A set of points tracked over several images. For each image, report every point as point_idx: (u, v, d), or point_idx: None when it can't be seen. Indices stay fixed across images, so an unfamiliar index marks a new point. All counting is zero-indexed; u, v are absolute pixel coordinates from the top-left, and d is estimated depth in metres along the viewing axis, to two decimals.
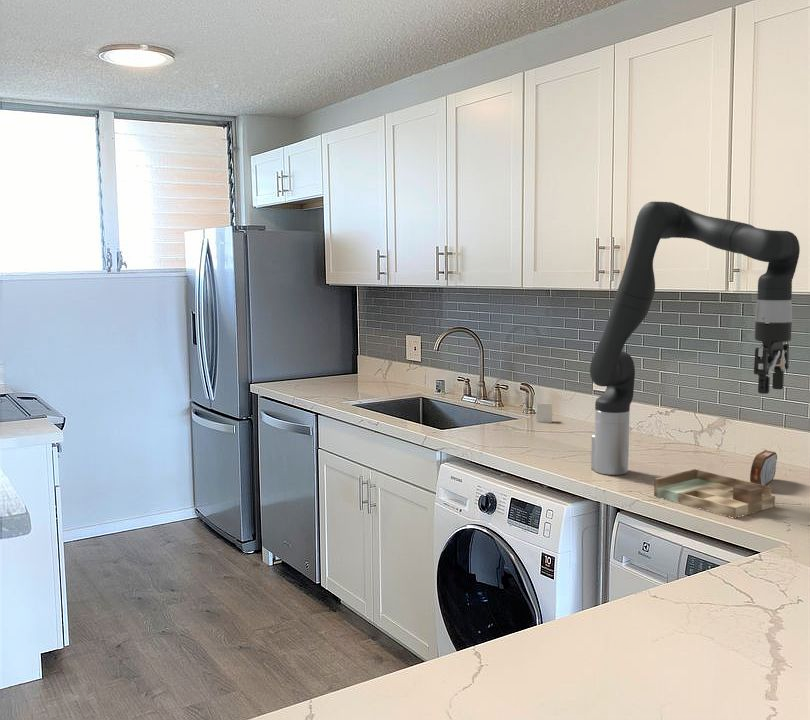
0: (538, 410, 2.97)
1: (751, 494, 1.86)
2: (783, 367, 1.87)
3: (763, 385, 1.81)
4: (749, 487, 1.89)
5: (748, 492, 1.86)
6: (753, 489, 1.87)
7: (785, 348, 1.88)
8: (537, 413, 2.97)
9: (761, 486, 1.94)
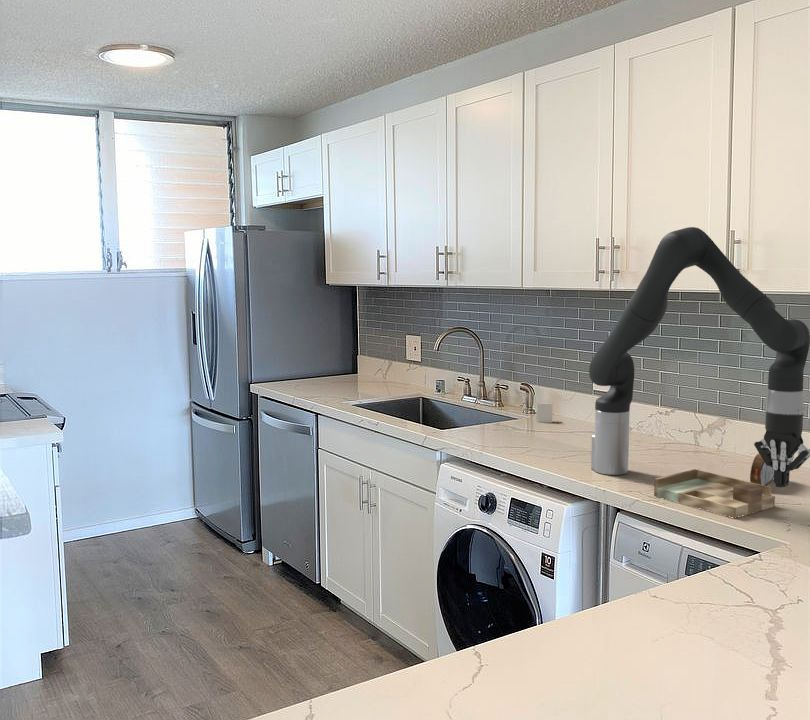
0: (538, 410, 2.97)
1: (751, 494, 1.86)
2: None
3: (788, 479, 1.80)
4: (749, 487, 1.89)
5: (748, 492, 1.86)
6: (753, 489, 1.87)
7: None
8: (537, 413, 2.97)
9: (761, 486, 1.94)
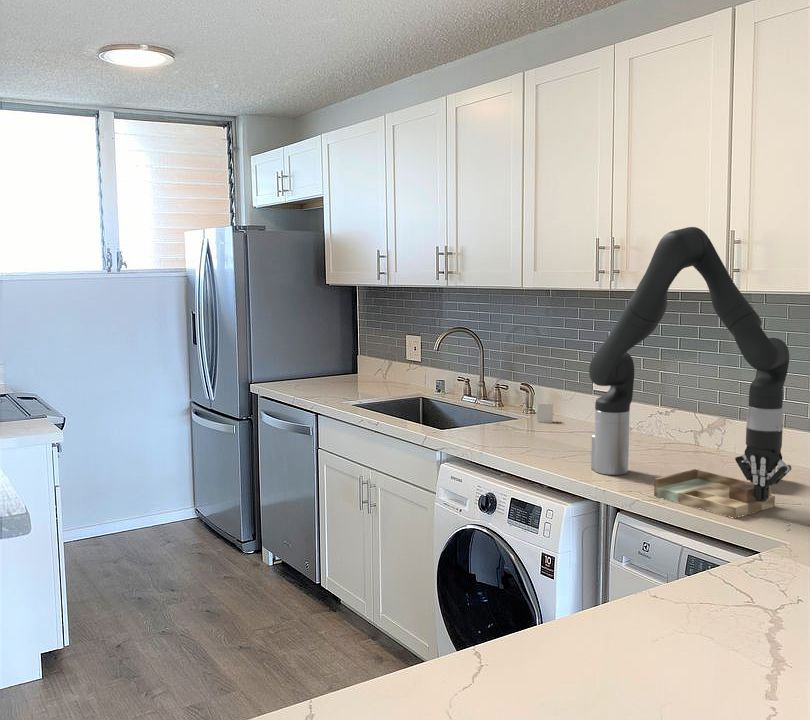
0: (539, 410, 2.96)
1: (747, 493, 1.87)
2: None
3: (767, 493, 1.85)
4: (745, 486, 1.89)
5: (744, 491, 1.87)
6: (749, 488, 1.88)
7: None
8: (538, 413, 2.97)
9: None
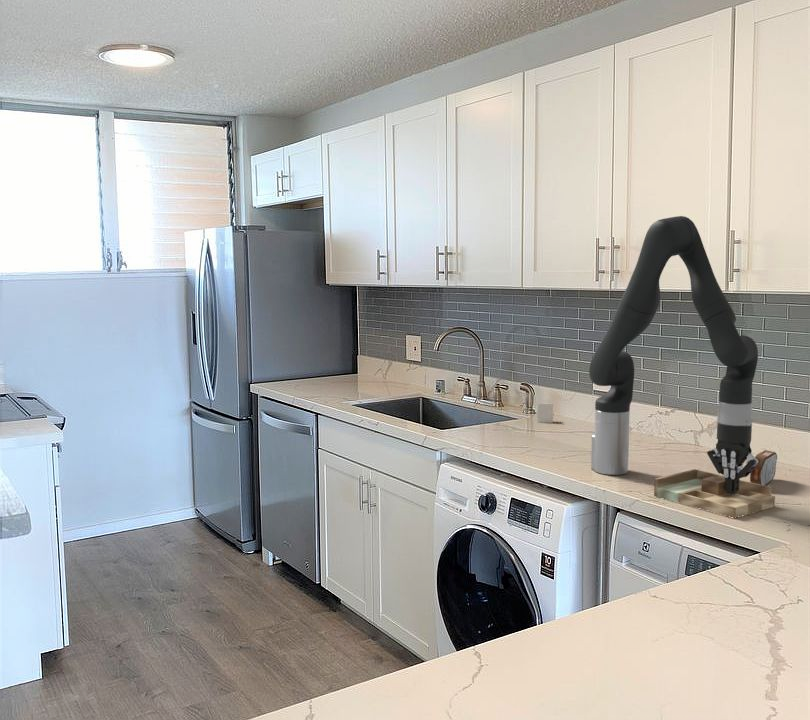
0: (539, 410, 2.96)
1: (719, 486, 1.93)
2: None
3: (737, 486, 1.91)
4: (717, 479, 1.95)
5: (715, 484, 1.93)
6: (720, 481, 1.94)
7: None
8: (538, 413, 2.97)
9: (761, 486, 1.94)
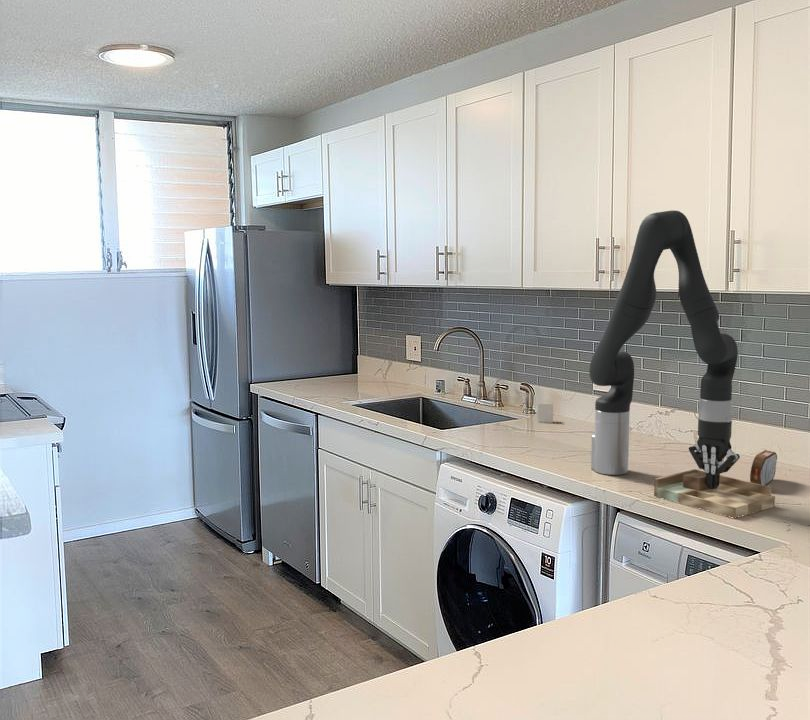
0: (539, 410, 2.96)
1: (700, 481, 1.97)
2: None
3: (718, 481, 1.95)
4: (698, 475, 2.00)
5: (696, 479, 1.97)
6: (701, 476, 1.98)
7: None
8: (538, 413, 2.97)
9: (761, 486, 1.94)
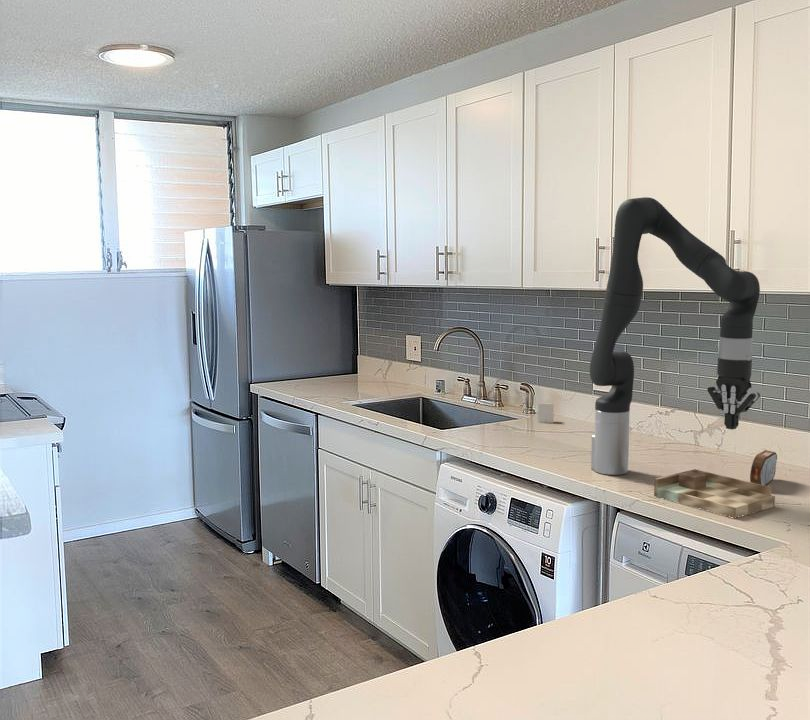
0: (539, 410, 2.96)
1: (695, 480, 1.98)
2: None
3: (737, 421, 1.93)
4: (694, 474, 2.01)
5: (692, 478, 1.98)
6: (697, 476, 1.99)
7: None
8: (538, 413, 2.96)
9: (761, 486, 1.94)
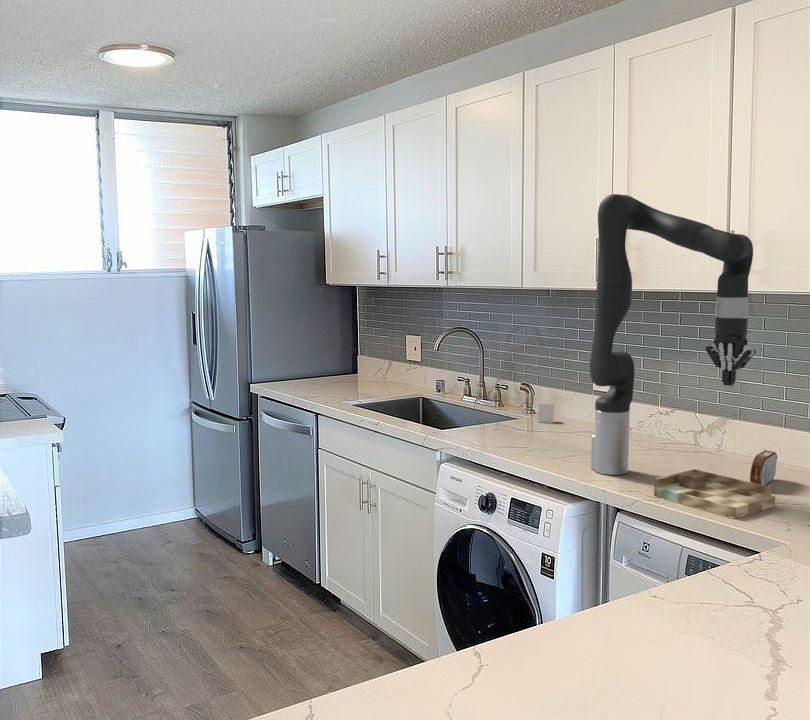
0: (539, 410, 2.96)
1: (695, 480, 1.98)
2: None
3: (734, 378, 2.02)
4: (694, 474, 2.01)
5: (692, 478, 1.98)
6: (697, 476, 1.99)
7: None
8: (538, 413, 2.96)
9: (761, 486, 1.94)
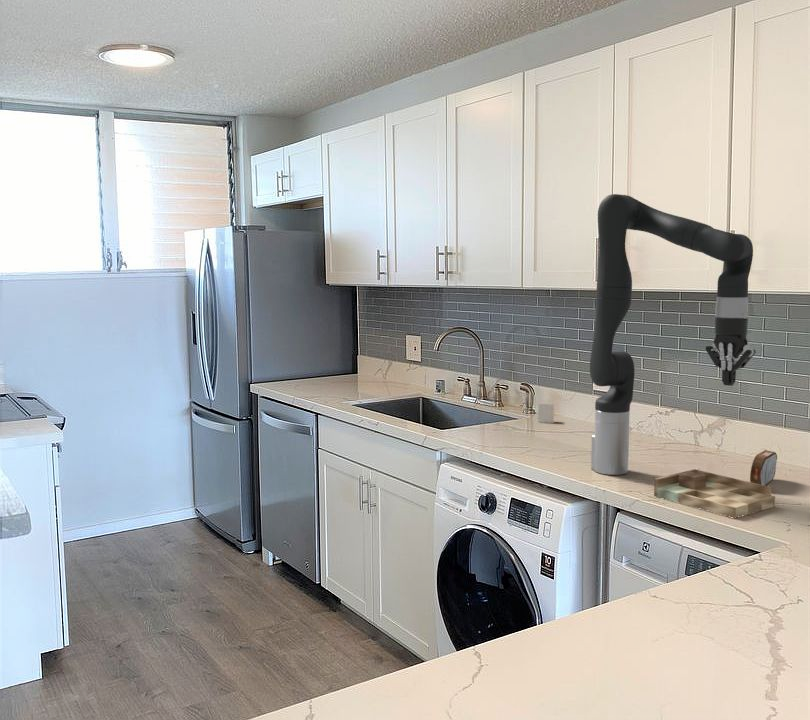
0: (540, 410, 2.96)
1: (695, 480, 1.98)
2: None
3: (734, 377, 2.02)
4: (694, 474, 2.01)
5: (692, 478, 1.98)
6: (697, 476, 1.99)
7: None
8: (539, 413, 2.96)
9: (761, 486, 1.94)
